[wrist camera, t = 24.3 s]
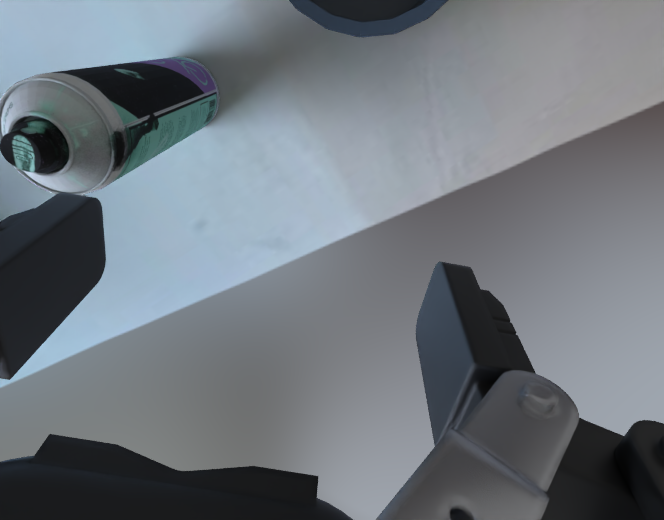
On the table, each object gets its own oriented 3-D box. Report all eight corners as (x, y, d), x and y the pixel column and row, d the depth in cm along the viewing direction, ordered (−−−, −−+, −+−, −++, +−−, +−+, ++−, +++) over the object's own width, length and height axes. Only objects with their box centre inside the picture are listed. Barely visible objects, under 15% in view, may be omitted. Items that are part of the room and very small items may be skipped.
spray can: (207, 49, 35) (48, 64, 17) (229, 122, 37) (110, 203, 19) (140, 65, 36) (-79, 97, 18) (166, 136, 38) (-5, 227, 20)
